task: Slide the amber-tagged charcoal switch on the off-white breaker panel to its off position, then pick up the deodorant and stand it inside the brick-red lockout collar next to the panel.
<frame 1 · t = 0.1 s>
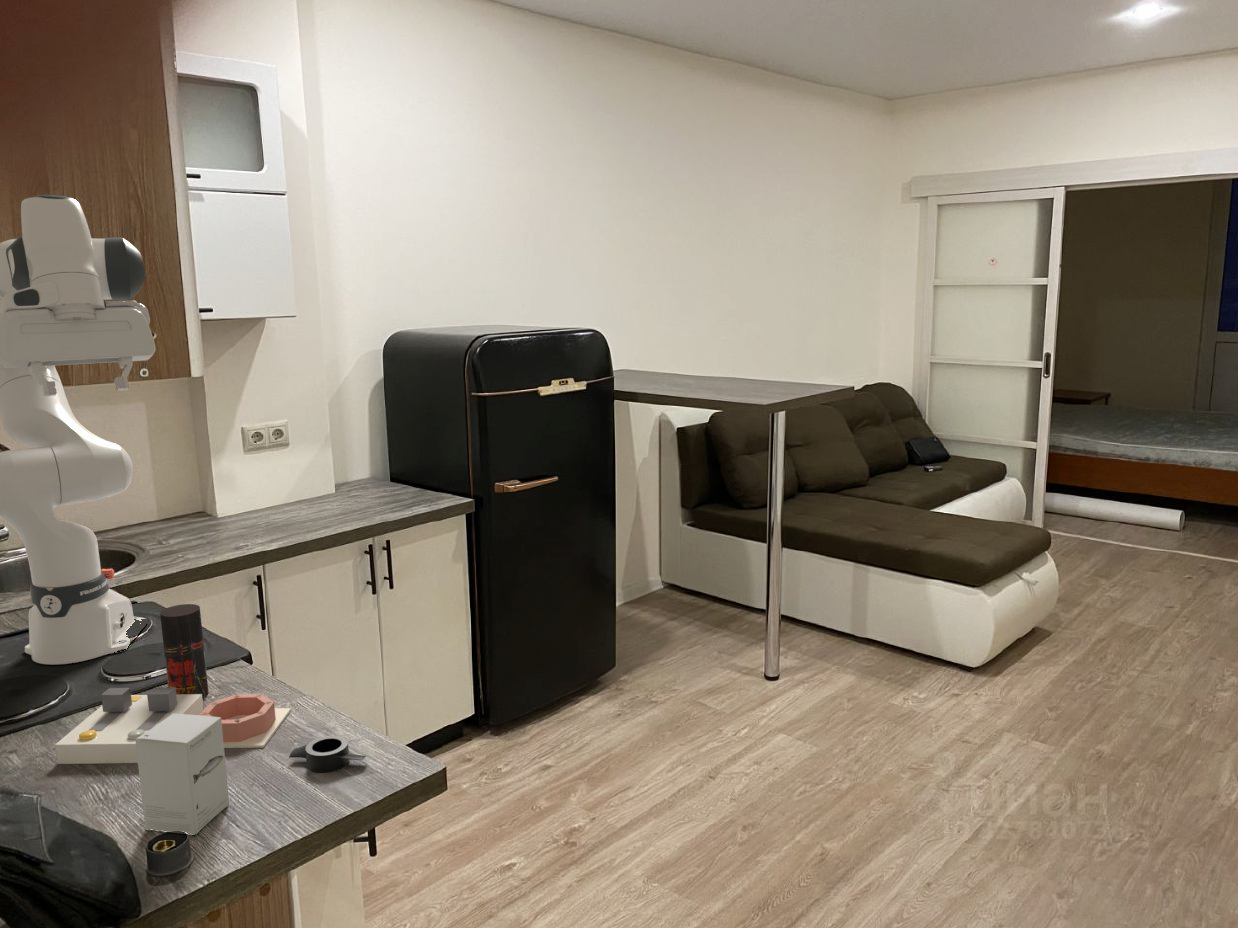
hand: (87, 392, 135), 52 cm above the countertop, tool tilted 20°, fingers open, 8 cm apart
black finned ring: (328, 765, 132), on the countertop
untagged switch: (162, 699, 141), point 5 cm above the countertop, slide at 0.0 cm
supplement box: (188, 818, 119), on the countertop
lockout collar: (238, 728, 142), on the countertop
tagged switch: (116, 699, 141), point 5 cm above the countertop, slide at 0.0 cm
deodorant: (189, 696, 154), on the countertop
breaker panel: (134, 736, 140), on the countertop
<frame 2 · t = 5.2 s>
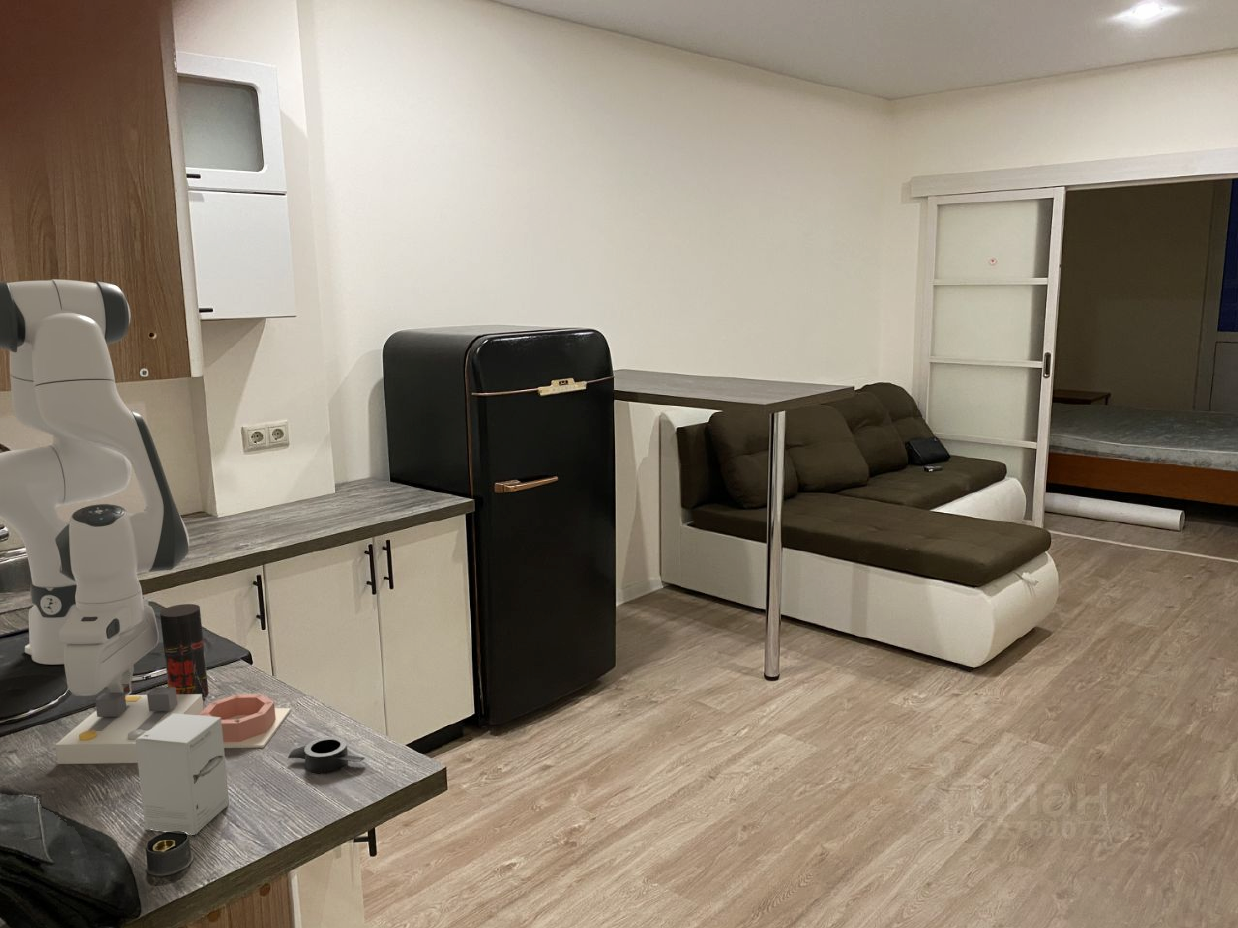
hand: (121, 697, 142), 5 cm above the countertop, tool pointing down, fingers closed
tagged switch: (111, 704, 140), point 5 cm above the countertop, slide at 1.7 cm, touching gripper
everything else where it was.
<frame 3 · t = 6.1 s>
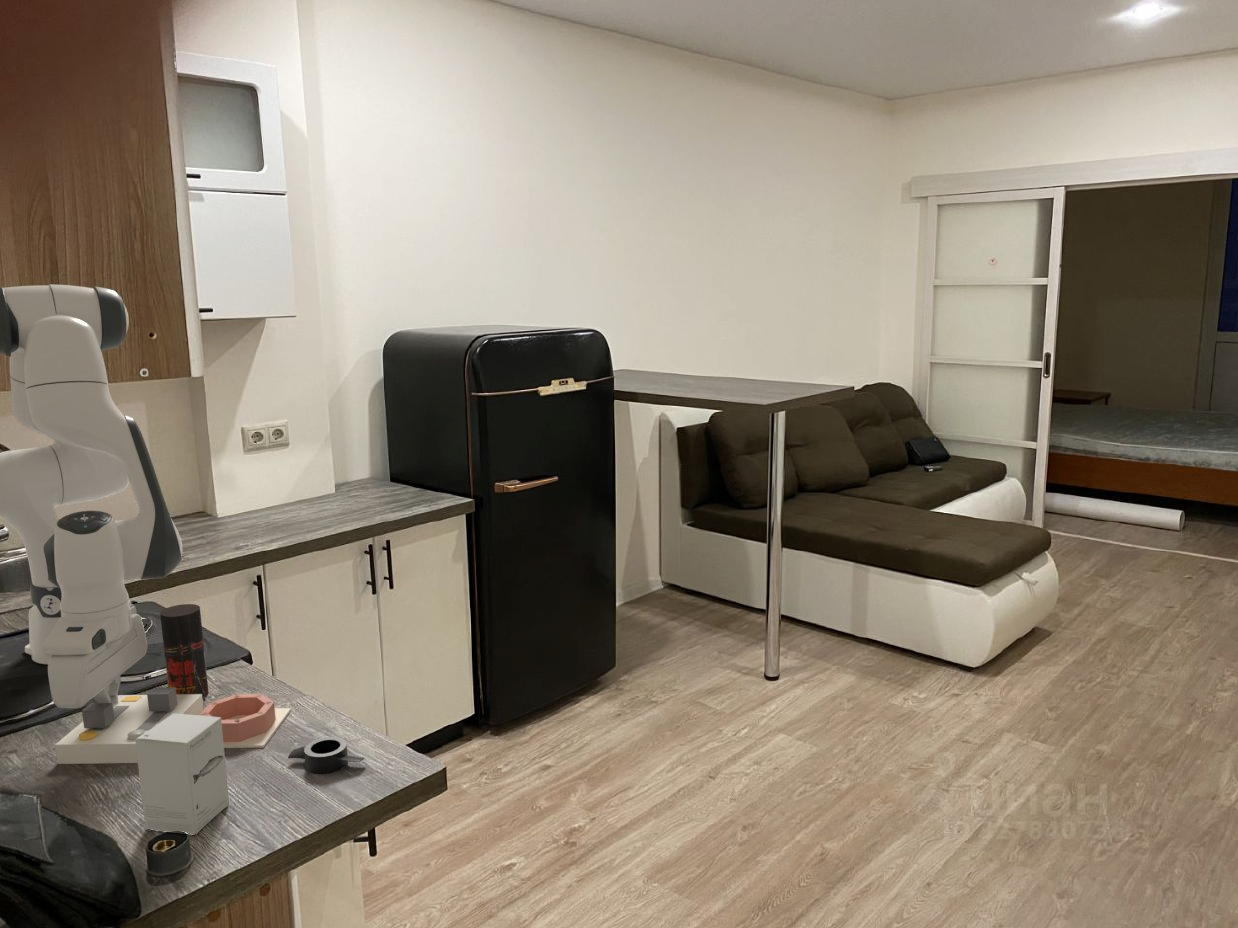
hand: (108, 708, 139), 5 cm above the countertop, tool pointing down, fingers closed
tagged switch: (98, 715, 136), point 5 cm above the countertop, slide at 5.2 cm, touching gripper
everything else where it was.
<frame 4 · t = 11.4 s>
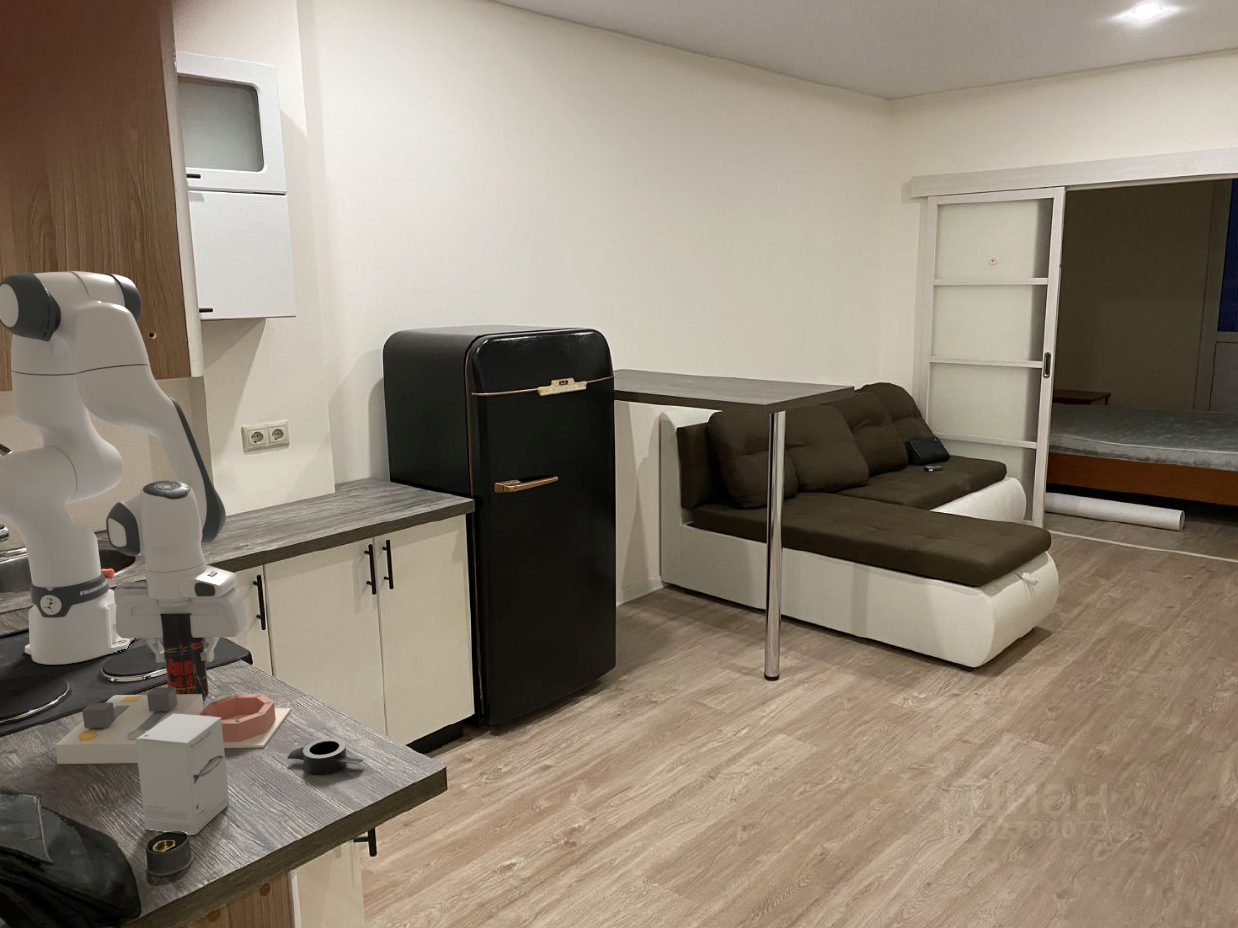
hand: (185, 660, 153), 6 cm above the countertop, tool pointing down, fingers closed on deodorant, 6 cm apart
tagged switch: (98, 714, 136), point 5 cm above the countertop, slide at 5.1 cm
deodorant: (189, 696, 154), on the countertop, touching gripper
everything else where it was.
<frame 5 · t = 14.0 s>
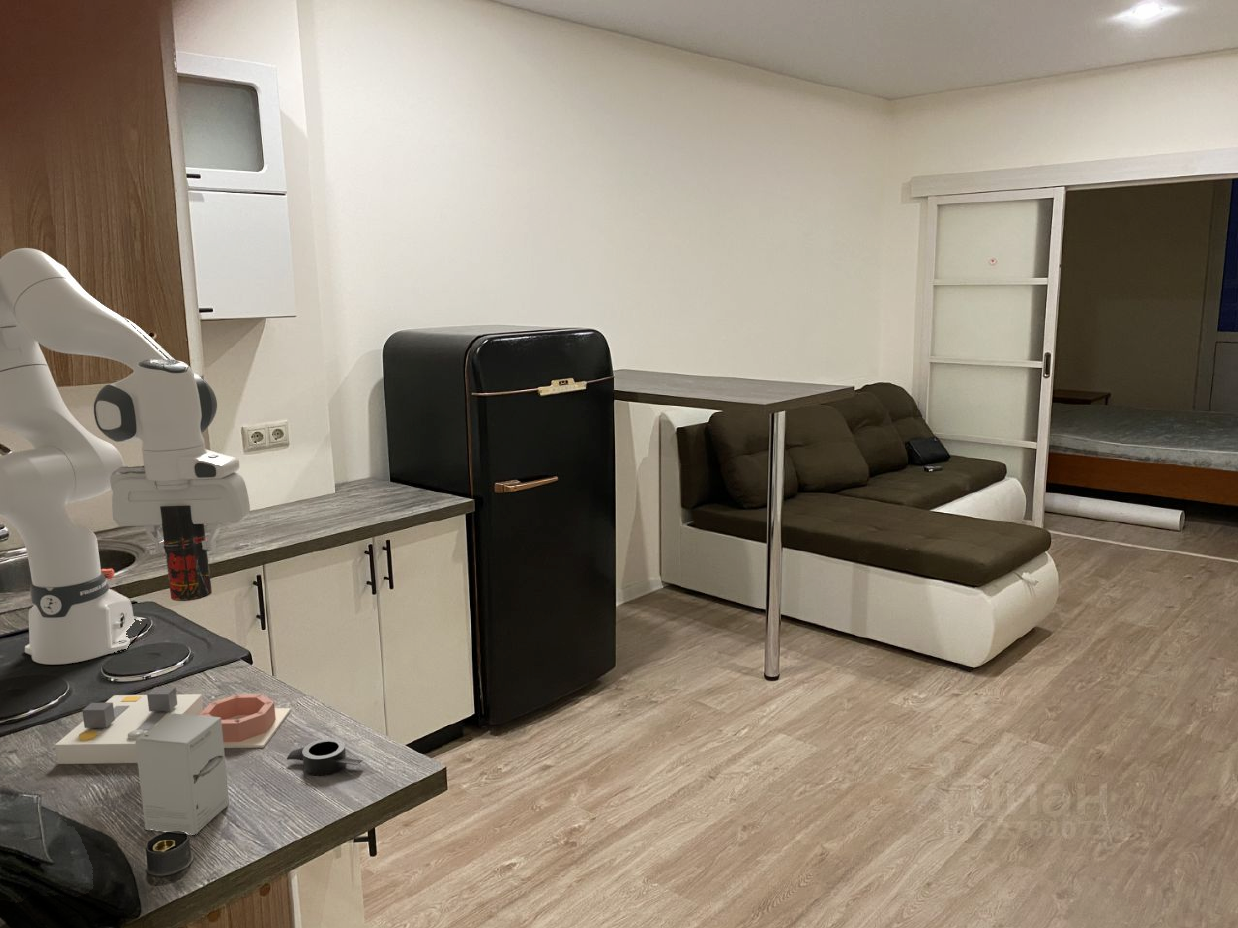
hand: (186, 550, 145), 26 cm above the countertop, tool pointing down, fingers closed on deodorant, 6 cm apart
deodorant: (191, 596, 147), point 19 cm above the countertop, touching gripper
everything else where it was.
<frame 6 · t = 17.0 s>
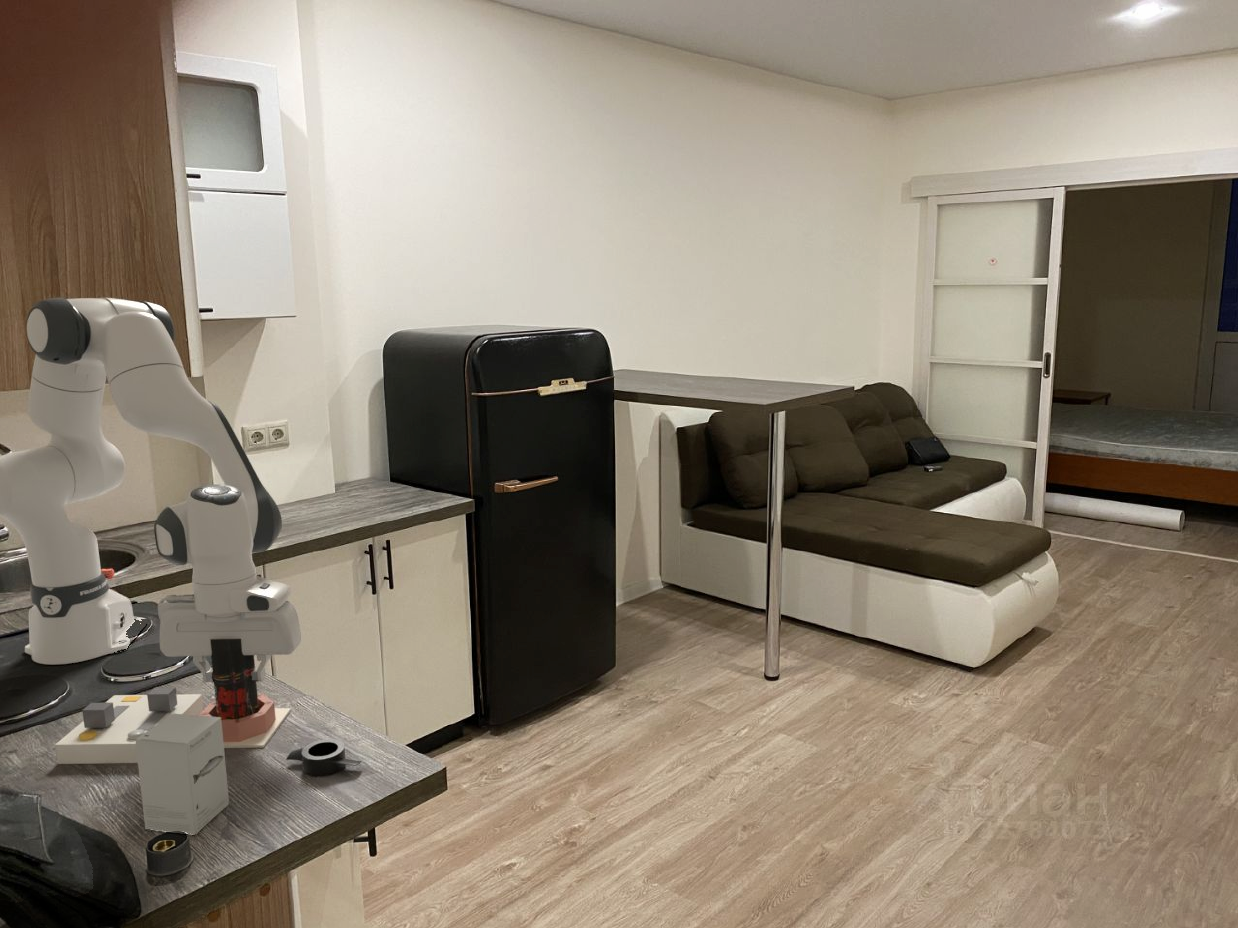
hand: (234, 680, 140), 8 cm above the countertop, tool pointing down, fingers closed on deodorant, 6 cm apart
deodorant: (239, 727, 142), resting on lockout collar, touching gripper
when the fingers open (8 cm above the countertop, at t = 17.5 s): deodorant stays where it is, resting on lockout collar.
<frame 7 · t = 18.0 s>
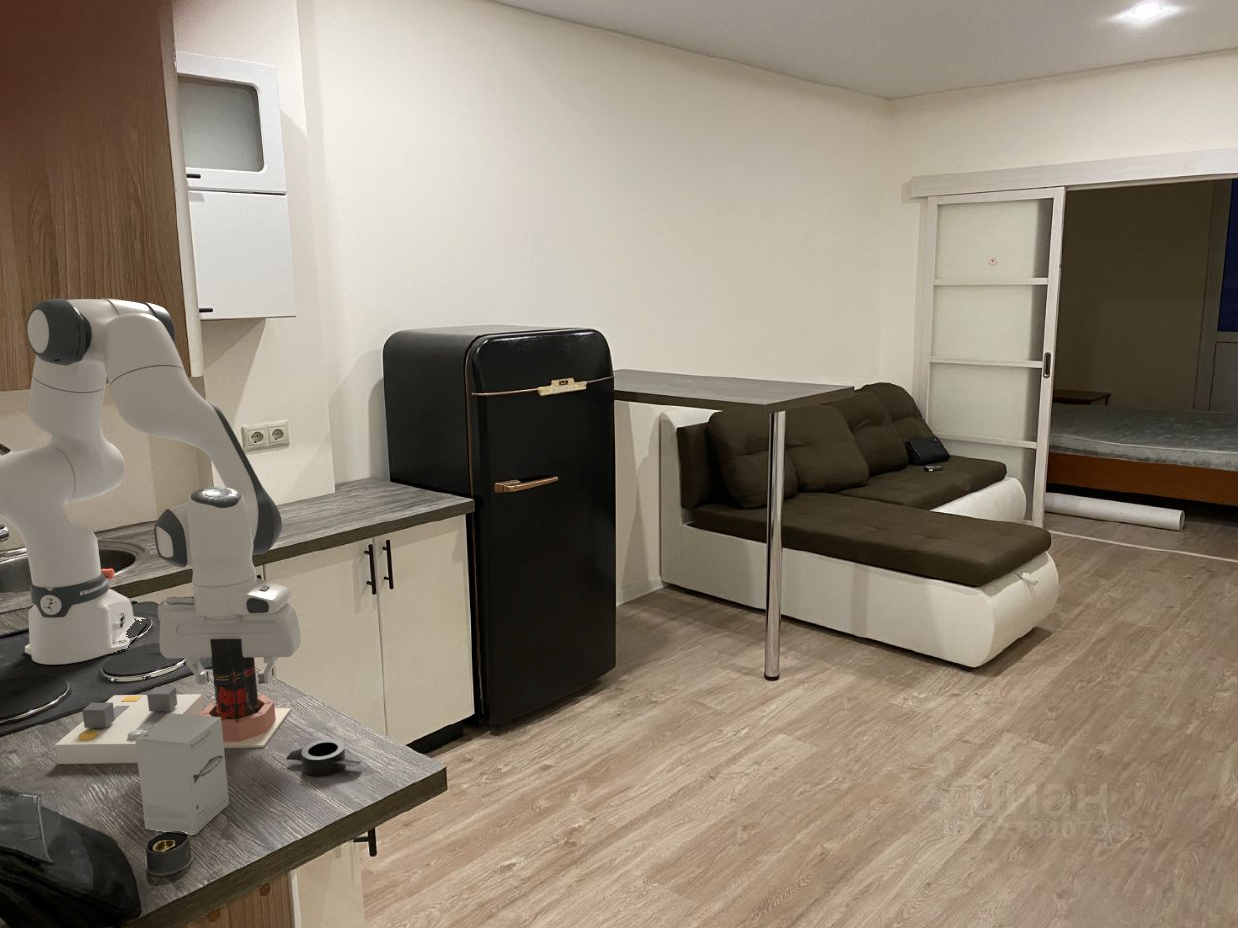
hand: (234, 682, 141), 8 cm above the countertop, tool pointing down, fingers open, 8 cm apart
deodorant: (239, 727, 142), resting on lockout collar
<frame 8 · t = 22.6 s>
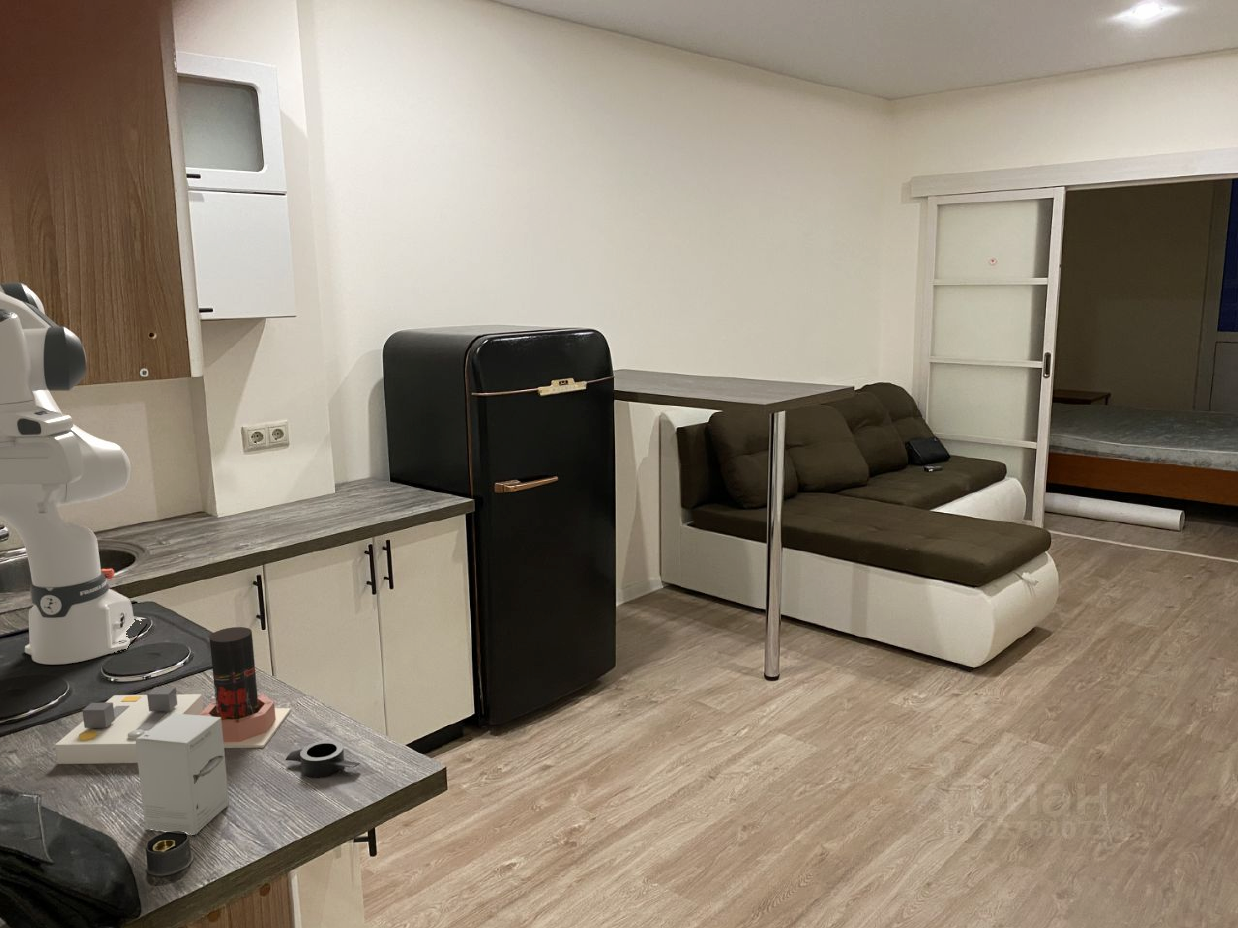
hand: (15, 513, 137), 34 cm above the countertop, tool pointing down, fingers open, 8 cm apart
at the end: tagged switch slide at 5.1 cm; deodorant 0.1 cm off-centre on the lockout collar, point 0.2 cm above the lockout collar's base; deodorant tilted 0° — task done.
